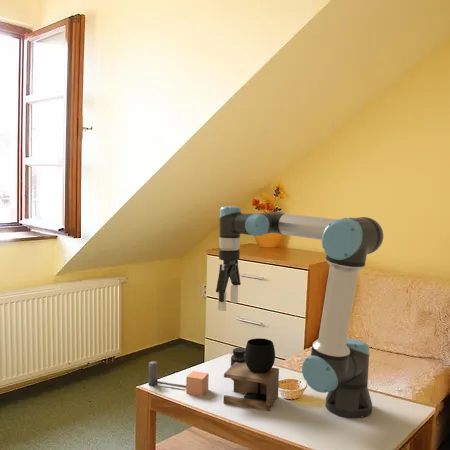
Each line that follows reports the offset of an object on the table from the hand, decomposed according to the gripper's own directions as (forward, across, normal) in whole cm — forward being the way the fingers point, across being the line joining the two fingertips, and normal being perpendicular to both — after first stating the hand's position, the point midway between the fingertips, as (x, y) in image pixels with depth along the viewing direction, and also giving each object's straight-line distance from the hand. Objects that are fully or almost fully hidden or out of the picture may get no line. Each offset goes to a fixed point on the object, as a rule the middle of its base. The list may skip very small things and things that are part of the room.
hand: (228, 306), depth 192 cm
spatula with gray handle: (+29, +12, -15) cm, 35 cm away
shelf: (+29, +12, +13) cm, 34 cm away
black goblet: (+29, +10, +15) cm, 34 cm away
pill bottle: (+29, -6, +3) cm, 30 cm away
